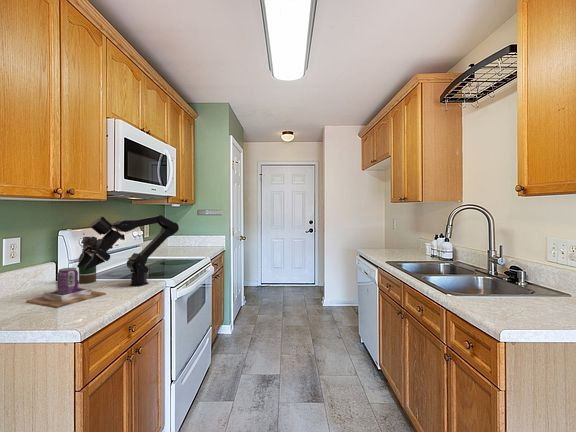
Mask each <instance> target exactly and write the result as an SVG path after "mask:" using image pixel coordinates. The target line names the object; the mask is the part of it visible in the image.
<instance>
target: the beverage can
mask: <svg viewBox="0 0 576 432" xmlns="http://www.w3.org/2000/svg"><path fill="white" fill-rule="evenodd" d="M56 278H57V281H56V283H57V286H56V287H57V289H56V290H57V292H58V295H67V294H71V293H75V292H78V287H79V271H78V270H77V267H65V268H64V267H63V268H61V269H60V268H59V269H58V273H57V277H56Z"/></svg>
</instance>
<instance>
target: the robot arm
mask: <svg viewBox="0 0 576 432" xmlns="http://www.w3.org/2000/svg"><path fill="white" fill-rule="evenodd" d="M154 224H158V226H159V227H161V229H160V231H159V233H158V234H157V235H156V236H155V237H154V238H153V239H152V240H151V241H150V242H149V243H148V244H147V245H146V246H145V247H144V248H143V249H142V250H141V251H140V252H139V253H136V252H134V253H132V254H131V256H130V257H128V258H127V259H128V260H127V261H126V267H127V268H128V269H129V270H130V272H131V276H130V277H131V280H130V283H129V286H133V287H141V286H144V285H148V284H149V283H150V282H148V281H147V273H149V270H150V269H149V267H147V266H146V264H147V261H148V260H149V257H151V255H153V253H154V252H156V250H157V249H158V248H159V247H160V246H161V245H162V244H163V243H164V242H165V241H166V240H167V239H168V238H169V237H171V236H173V235H175V234H176V233H177V232H178V231H179V230H180V228H179V224H178V223H177V222H173V221H172V220H170V219H169V218H167V217H165V216H163V215H162V214H157V215H153V216H148V217H141V218H136V219H119V220H116V222H113V223H111V222H110V221H108V220H107V219H106V218H105V217H104V216H100V217H98V218H97V219H95V220H93V222H91V223H90V225H89V228H91V229H92V230H94V232H96V233H97V234H98V235H99V236H100V235H101V236H102V235H103V237H101V238H98V237H96V236H92V235H91V236H83V237H84V238H83V237H82V240H81V244H82V245H83V244H87V245H90V246H85V247H84V248H83V247H82V248H81V253H82V252H83V256H82V258H81V260H80V262H79V261H78V264H77V266H76V268H78V269H79V268H80V267H82V266H83V265H85V264H87V263H88V264H87V265H86V267H85V268H84V269H85V270H88V269H90V268H92V267H94V266H96V267H97V266H99V265H101V264H103V263H106V262H108V261H109V260H110V259H111V254H109V253H108V251H109V250H111V249H113V248H114V247H113V246H114V245H115V244H116V243H117V242H118V241H119V240H121V241H125V240H126V238H125V235H126V234H125V233H127V232H130V231H133V230H135V229H137V228H140V227H145V226H150V225H154ZM114 229H115V230H114ZM89 237H91V238H89Z"/></svg>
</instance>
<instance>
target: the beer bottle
mask: <svg viewBox="0 0 576 432" xmlns="http://www.w3.org/2000/svg"><path fill="white" fill-rule="evenodd" d="M84 237H85V236H83V237H82V239H83V238H84ZM88 237H89V238H91V237H92V236H88ZM85 246H90V245H87V244H82V249H83V248H84V247H85ZM82 256H83V252H82V251H81V253H80V255H79V257H78V263H79V262H80V260H81V258H82ZM87 264H88V263H87ZM87 264H85V265H83V266H82V267H80V268H78V284H81V285H82V284H83V285H84V284H85V285H87V284H93V283H95V282H97V266H94V267H92V268H90V269H88V270H85V269H84V268H85V267H86V265H87Z"/></svg>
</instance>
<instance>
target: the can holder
mask: <svg viewBox="0 0 576 432" xmlns="http://www.w3.org/2000/svg"><path fill="white" fill-rule="evenodd" d="M105 295H107V292H104V291H103V292H102V291H96V290H92V289H91V288H86V287H85V288H84V287H79V286H78V292H75V293H71V294H67V295H58V292H57V289H56V290H53V291H47V292H44V293H43V295H42V296H39V297H35V298H30V299H26V301H25V302H26V303H29V304H33V305H40V306H46V307H50V308H55V309H58V308H62V307H66V306H70V305H73V304H76V303H77V304H78V303H80V302H83V301H84V302H85V301H87V300H90V299H94V298H99V297H102V296H105Z"/></svg>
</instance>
